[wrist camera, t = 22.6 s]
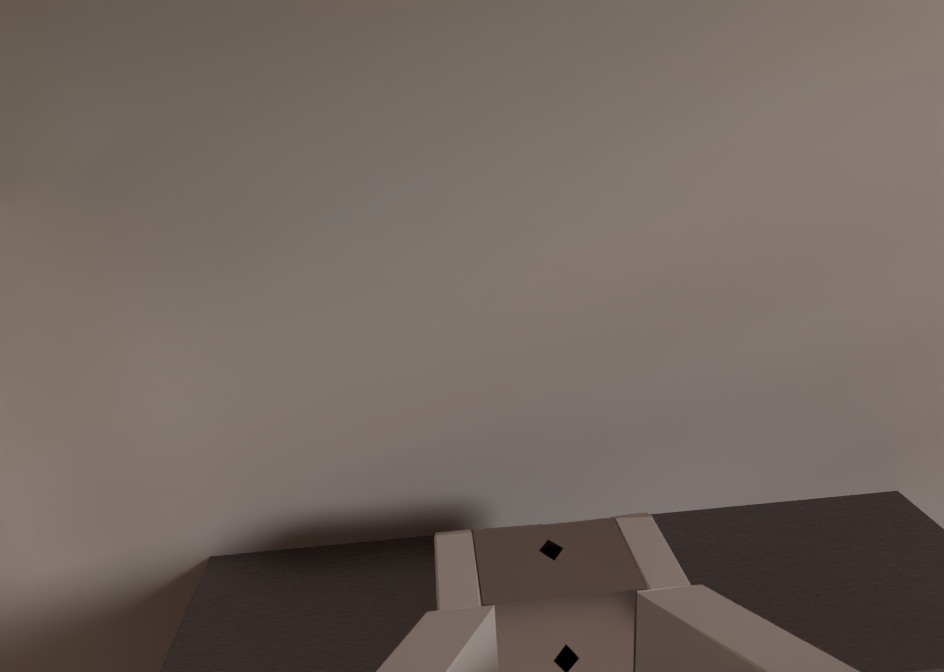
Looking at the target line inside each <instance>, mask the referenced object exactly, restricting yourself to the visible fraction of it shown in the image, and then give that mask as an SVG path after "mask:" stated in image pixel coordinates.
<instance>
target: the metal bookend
mask: <svg viewBox="0 0 944 672" xmlns="http://www.w3.org/2000/svg"><path fill="white" fill-rule="evenodd" d="M651 516H652V517H653V519H654V521H655V523H656V524H657V526H658V528H659V530H660V531H661V533H662V535H663V537H664V538H665V540H666V542H667V544H668V545H669V547H670V549H671V551H672V552H673V554H674V556H675V558H676V559H677V561H678V563H679V565H680V566H681V568H682V570H683V572H684V574H685V575H686V577H687V579H688V581H689V582H690V584H691V586H692V585H704V586H705V587H707V588H709V589H711V590H713V591H714V592H716V593H718V594H720V595H722V596H724V597H725V598H727V599H729V600H731V601H733V602H734V603H736V604H738V605H740V606H742V607H743V608H745V609H747V610H749V611H751V612H753V613H754V614H756V615H758V616H760V617H762V618H763V619H765V620H767V621H769V622H771V623H773V624H774V625H776V626H778V627H780V628H782V629H783V630H785V631H787V632H789V633H791V634H792V635H794V636H796V637H798V638H800V639H802V640H803V641H805V642H807V643H809V644H811V645H812V646H814V647H816V648H818V649H820V650H821V651H823V652H825V653H827V654H829V655H831V656H832V657H834V658H836V659H838V660H840V661H841V662H843V663H845V664H847V665H849V666H850V667H852V668H854V669H856V670H858V671H860V672H944V529H943V528H942V527H940V526H939V525H938V524H937V523H936V522H934V521H933V520H932V519H931V518H930V517H928V516H927V515H926V514H925V513H924V512H922V511H921V510H920V509H919V508H918V507H916V506H915V505H914V504H913V503H912V502H910V501H909V500H908V499H907V498H905V497H904V496H903V495H902V494H901V493H899V492H898V491H891V492H881V493H870V494H860V495H849V496H839V497H828V498H818V499H808V500H797V501H787V502H776V503H766V504H755V505H745V506H734V507H724V508H714V509H703V510H693V511H682V512H672V513H661V514H651ZM557 524H558V523H557ZM546 525H549V524H546ZM434 537H435V535H432V536H421V537H411V538H400V539H390V540H379V541H369V542H359V543H348V544H338V545H327V546H317V547H306V548H296V549H285V550H275V551H265V552H254V553H244V554H233V555H223V556H212V557H210V559H209V561H208V564H207V566H206V568H205V570H204V573H203V575H202V577H201V580H200V582H199V584H198V586H197V589H196V591H195V593H194V596H193V598H192V600H191V602H190V605H189V607H188V609H187V612H186V614H185V616H184V618H183V621H182V623H181V625H180V628H179V630H178V632H177V634H176V637H175V639H174V641H173V644H172V646H171V648H170V650H169V653H168V655H167V657H166V660H165V662H164V664H163V666H162V669H161V671H160V672H376V671H377V670H378V669H379V667H380V666H381V665H382V664H383V663H384V661H385V660H386V659H387V658H388V657H389V656H390V654H391V653H392V652H393V651H394V650H395V648H396V647H397V646H398V645H399V644H400V643H401V641H402V640H403V639H404V638H405V637H406V635H407V634H408V633H409V632H410V631H411V630H412V628H413V627H414V626H415V625H416V624H417V622H418V621H419V620H420V619H421V618H422V617H423V615H424V614H425V613H426V612H430V611H437V595H436V571H435V546H434Z"/></svg>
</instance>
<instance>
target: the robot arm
mask: <svg viewBox="0 0 944 672" xmlns="http://www.w3.org/2000/svg"><path fill="white" fill-rule="evenodd" d="M434 546H435V571H436V595H437V611H430V612H426V613H425V614H424V615H423V617H422V618H421V619H420V620H419V621H418V622H417V624H416V625H415V626H414V627H413V628H412V630H411V631H410V632H409V633H408V634H407V635H406V637H405V638H404V639H403V640H402V641H401V643H400V644H399V645H398V646H397V647H396V648H395V650H394V651H393V652H392V653H391V654H390V656H389V657H388V658H387V659H386V660H385V661H384V663H383V664H382V665H381V666H380V667H379V669H378V670H377V671H376V672H860V671H858V670H856V669H854V668H852V667H850V666H849V665H847V664H845V663H843V662H841V661H840V660H838V659H836V658H834V657H832V656H831V655H829V654H827V653H825V652H823V651H821V650H820V649H818V648H816V647H814V646H812V645H811V644H809V643H807V642H805V641H803V640H802V639H800V638H798V637H796V636H794V635H792V634H791V633H789V632H787V631H785V630H783V629H782V628H780V627H778V626H776V625H774V624H773V623H771V622H769V621H767V620H765V619H763V618H762V617H760V616H758V615H756V614H754V613H753V612H751V611H749V610H747V609H745V608H743V607H742V606H740V605H738V604H736V603H734V602H733V601H731V600H729V599H727V598H725V597H724V596H722V595H720V594H718V593H716V592H714V591H713V590H711V589H709V588H707V587H705V586H704V585H692V586H691V584H690V582H689V581H688V579H687V577H686V575H685V574H684V572H683V570H682V568H681V566H680V565H679V563H678V561H677V559H676V558H675V556H674V554H673V552H672V551H671V549H670V547H669V545H668V544H667V542H666V540H665V538H664V537H663V535H662V533H661V531H660V530H659V528H658V526H657V524H656V523H655V521H654V519H653V517H652V516H651V515H650V514H648V513H646V512H645V513H638V514H630V515H622V516H615V517H611V518H603V519H594V520H585V521H576V522H567V523H558V524H549V525H543V524H539V525H525V526H512V527H498V528H484V529H472V532H471V530H470V529H468V530H458V531H448V532H438V533H435V537H434Z"/></svg>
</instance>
